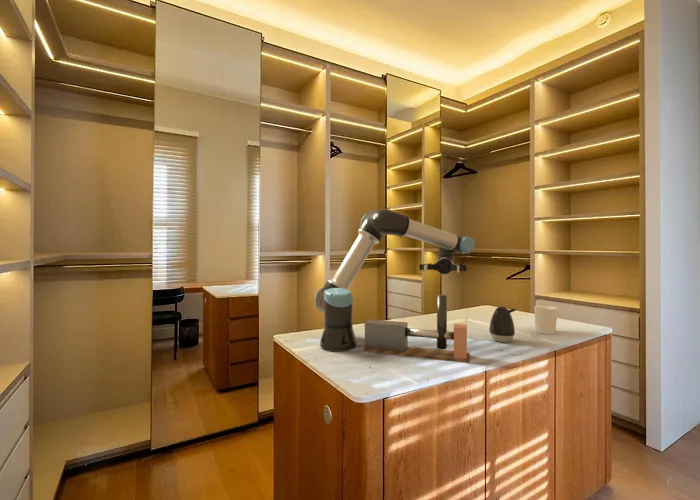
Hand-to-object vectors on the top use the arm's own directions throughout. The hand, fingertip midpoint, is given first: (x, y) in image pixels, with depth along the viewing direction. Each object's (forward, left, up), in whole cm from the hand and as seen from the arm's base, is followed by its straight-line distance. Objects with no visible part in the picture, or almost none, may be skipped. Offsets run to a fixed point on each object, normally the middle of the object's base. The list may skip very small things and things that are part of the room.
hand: (441, 268), depth 147 cm
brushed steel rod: (-3, -16, -29) cm, 33 cm away
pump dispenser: (+25, +13, -32) cm, 43 cm away
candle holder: (+46, +36, -32) cm, 67 cm away
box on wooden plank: (-20, -16, -31) cm, 40 cm away
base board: (-8, -16, -32) cm, 36 cm away
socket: (+8, -16, -31) cm, 36 cm away
